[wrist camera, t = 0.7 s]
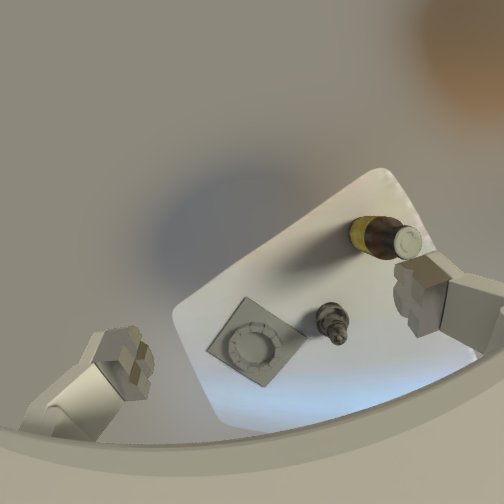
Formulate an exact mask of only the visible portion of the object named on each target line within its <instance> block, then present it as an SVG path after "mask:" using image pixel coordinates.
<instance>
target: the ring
mask: <svg viewBox="0 0 504 504" xmlns="http://www.w3.org/2000/svg"><path fill="white" fill-rule="evenodd" d="M249 332H260V333H263V334H265V335H266V336H268V337H269V338H271V340H272V342H273V344H274V346H275V353H274V354H273V355H272V357H271V358H270V359H269V360H266V361H264V362H261V363H255V362H249V361H247V360H246V359H244V358H243V357H241V355H240V354H239V352H238V350H237V340H238V339H239V338H240V336H241V335H243V334H246V333H249ZM281 352H282V340H281V338H280V336H279V334H278V332H277V331H276V330H275V329H273V328H272V327H270V326H269V325H267V324H265V325H264V323H260V322H249V323H246V324H244V325H241V326H239V327H238V328H237V329H236V331H235V332H234V333H233V335H232V336H231V338H230V340H229V352H228V353H229V355H230V357H231V359H232V360H233V362H234V364H235V363H236V364H235V365H237V366H238V367H240V368H241V369H243V370H244V371H246V370H247V372H254V373H259V371H260V373H262V372H265V371H267V370H270V369H272V368H273V367H274V366H275V365H276V364H277V363H278V362H279V360H280V358H281Z"/></svg>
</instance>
